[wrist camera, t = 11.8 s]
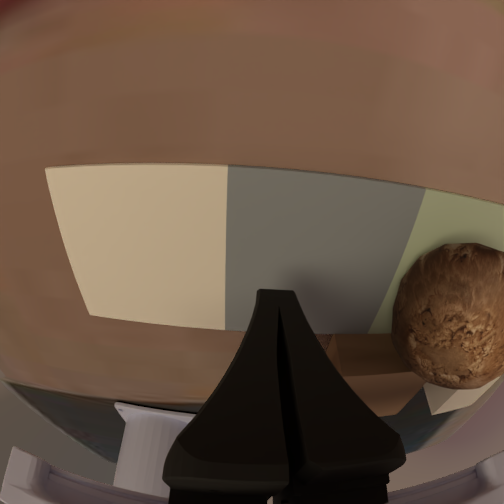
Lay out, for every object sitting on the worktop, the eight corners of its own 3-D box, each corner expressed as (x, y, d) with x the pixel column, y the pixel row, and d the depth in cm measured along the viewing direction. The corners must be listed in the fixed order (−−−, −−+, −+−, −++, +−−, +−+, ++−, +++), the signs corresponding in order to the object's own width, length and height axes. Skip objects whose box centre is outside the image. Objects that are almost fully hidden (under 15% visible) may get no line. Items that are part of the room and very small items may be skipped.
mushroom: (553, 294, 10) (553, 389, 7) (453, 340, 17) (425, 419, 13) (484, 179, 11) (482, 252, 7) (383, 255, 18) (338, 329, 14)
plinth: (387, 380, 20) (396, 414, 18) (311, 384, 20) (315, 421, 18) (422, 329, 17) (437, 368, 14) (333, 331, 17) (342, 376, 14)
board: (467, 326, 17) (468, 328, 17) (91, 312, 16) (89, 314, 16) (530, 211, 11) (532, 213, 11) (47, 166, 11) (44, 168, 11)
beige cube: (418, 370, 20) (456, 365, 20) (431, 415, 17) (471, 405, 17) (442, 338, 18) (480, 333, 18) (461, 386, 14) (500, 376, 14)
